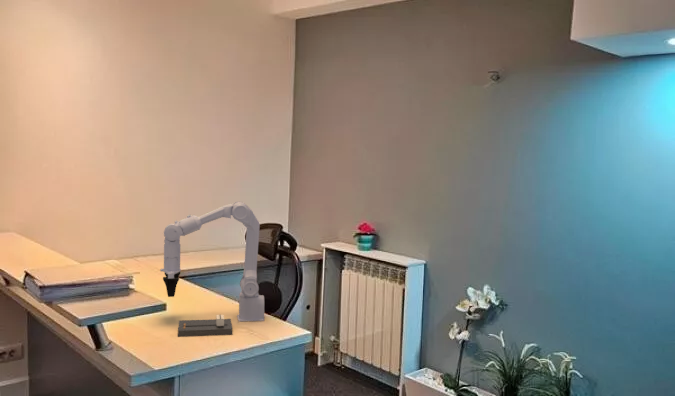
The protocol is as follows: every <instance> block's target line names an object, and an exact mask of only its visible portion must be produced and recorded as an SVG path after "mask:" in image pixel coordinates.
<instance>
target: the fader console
mask: <svg viewBox="0 0 675 396" xmlns="http://www.w3.org/2000/svg"><path fill="white" fill-rule="evenodd" d="M177 327H178V328H177V329H178V330H177V337H178V338H180V337H204V336H207V337H209V336H228V335H229V336H230V335H231V336H233V325H232V319H231V318H224V326H217V325H216V318H215V319H191V320H190V319H189V320H188V319H186V320H180V319H179V320H178V326H177Z"/></svg>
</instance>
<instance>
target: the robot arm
mask: <svg viewBox="0 0 675 396" xmlns="http://www.w3.org/2000/svg"><path fill="white" fill-rule="evenodd" d="M220 218H226V219H231V218H233V219H234V220H236V221H237V222H240V223H242V225H243V226H244V227H245V228H246V235H245V236H246V237H245V249H244V250H245V251H244V267H243V273H242V278H241V279H240V282H239V286H240V289H241V291H240V293H239V294H238V295H239V296H238V304H239V305H238V314H237V315H236V316H237V321H238V323H240V322H264V321H265V295H263V294H262V295H261V294H260V293H259V290H260V287H259V284H258V282H257V281H258V273H257V271H258V254H259V242H260V241H259V238H260V227H261V226H260V224H261V223H260V222H259V220H258V218H257V216H256V215H255V213H254V212H253V210H252V209H251V208H250V207H249V206H248V205H247V204H246V203H245V202H243V201H235V202H233V203H228V204H224V205H222V206H220V207H217V208H215V209H213V210H211V211H209V212H207V213H204V214H201V215H200V216H198V215H195V214H192V215H191V214H188V215H186V217H185V218H183V219H180V220H174V223H169V224H167V225H166V227H165V228H164V230H163V236H164V241H163V243H164V245H163V268H160V270H159V271H160V272H163V273H164V276H163V277H162V280H163V282H164V284H165V287H166V294H167V297H168V298H171V297H172V298H175V295H176V290H177V285H178V282H179V280H180V274H181V270H182V269H181V243H180V242H181V241H180V239H181V236H182V237H185V236H188V235H190V234H193V233H195V232H196V231H199V230H201V228H202V225H206V224H207V223H211V222H213V221H216V220H218V219H220Z"/></svg>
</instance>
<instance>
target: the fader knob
mask: <svg viewBox="0 0 675 396" xmlns="http://www.w3.org/2000/svg"><path fill="white" fill-rule="evenodd" d="M215 319H216V325H217V326H224V319H225V315H224V314H216V317H215Z"/></svg>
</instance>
